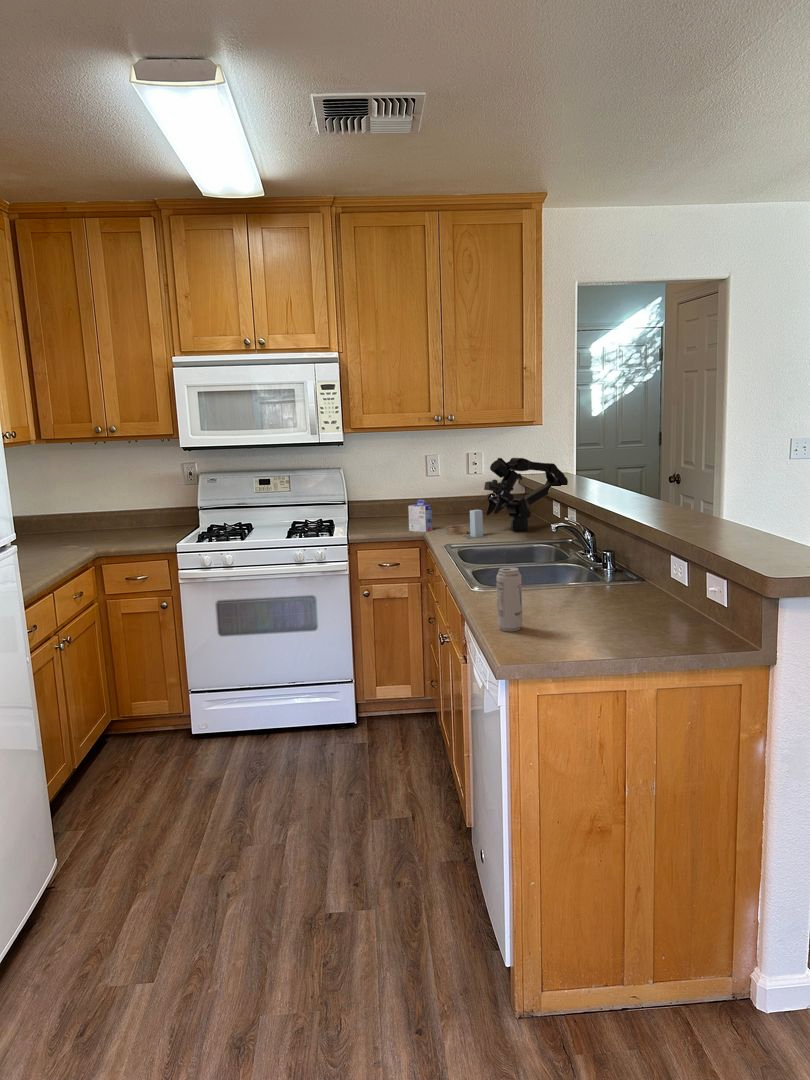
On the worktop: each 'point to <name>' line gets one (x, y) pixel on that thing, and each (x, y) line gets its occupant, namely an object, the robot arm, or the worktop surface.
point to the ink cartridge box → (420, 517)
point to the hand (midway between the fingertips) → (490, 514)
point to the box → (456, 530)
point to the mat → (474, 537)
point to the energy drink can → (509, 599)
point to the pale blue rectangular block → (476, 523)
